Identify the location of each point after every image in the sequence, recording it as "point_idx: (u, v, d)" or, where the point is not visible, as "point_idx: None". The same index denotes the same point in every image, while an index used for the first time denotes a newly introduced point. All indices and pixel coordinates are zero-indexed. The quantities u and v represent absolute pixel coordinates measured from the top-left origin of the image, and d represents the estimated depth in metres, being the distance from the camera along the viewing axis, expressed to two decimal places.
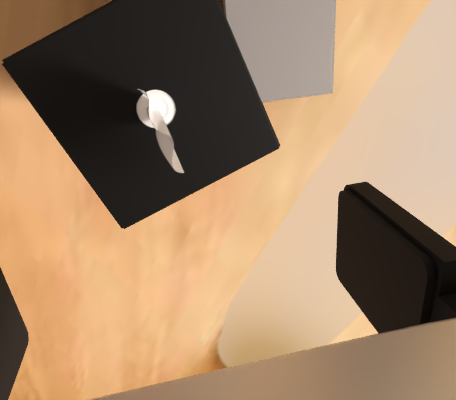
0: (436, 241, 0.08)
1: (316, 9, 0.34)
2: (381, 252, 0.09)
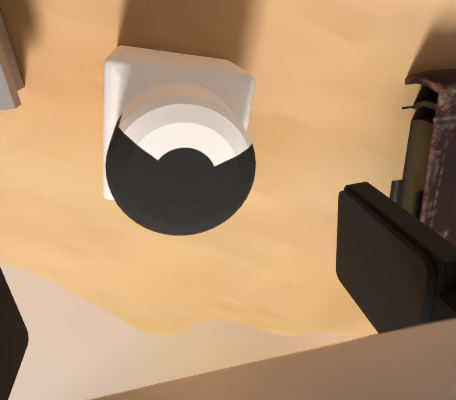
0: (436, 241, 0.08)
1: None
2: (381, 252, 0.09)
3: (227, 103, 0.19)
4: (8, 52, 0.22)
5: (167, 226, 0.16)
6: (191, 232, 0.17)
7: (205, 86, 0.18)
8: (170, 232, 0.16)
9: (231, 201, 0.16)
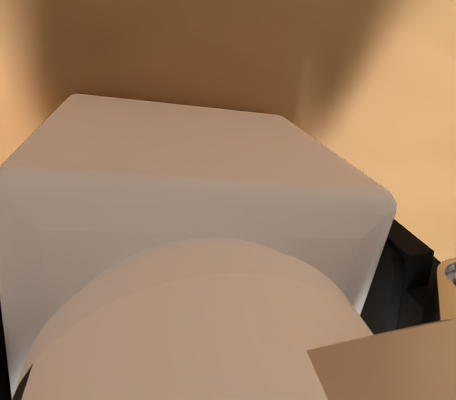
0: (404, 236, 0.08)
1: None
2: None
3: (329, 265, 0.07)
4: None
5: None
6: None
7: (277, 232, 0.07)
8: None
9: None
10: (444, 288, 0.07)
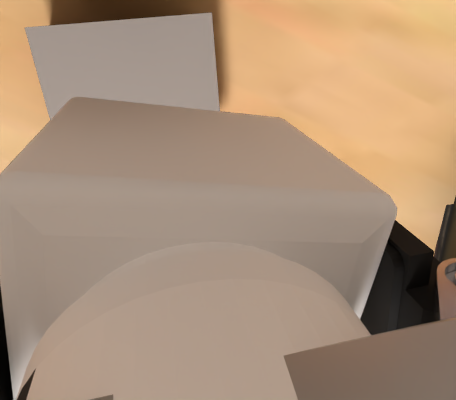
0: (404, 236, 0.08)
1: None
2: None
3: (329, 269, 0.07)
4: None
5: None
6: None
7: (278, 236, 0.07)
8: None
9: None
10: (444, 288, 0.07)
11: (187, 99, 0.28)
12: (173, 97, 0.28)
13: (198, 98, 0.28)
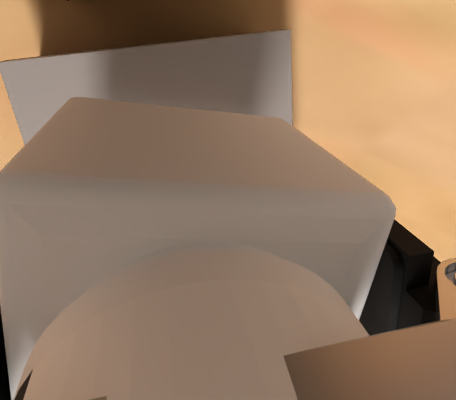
0: (404, 236, 0.08)
1: None
2: None
3: (328, 270, 0.07)
4: None
5: None
6: None
7: (276, 237, 0.07)
8: None
9: None
10: (444, 288, 0.07)
11: None
12: None
13: None
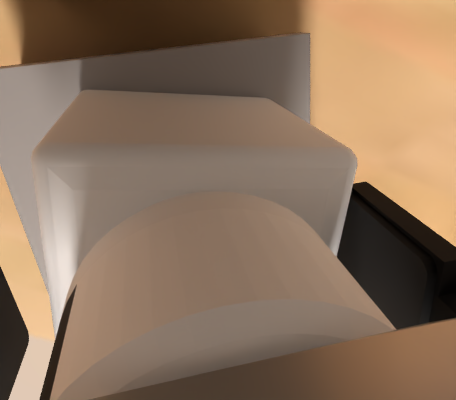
0: (436, 241, 0.08)
1: None
2: (381, 252, 0.09)
3: (304, 212, 0.09)
4: None
5: None
6: None
7: (259, 185, 0.08)
8: None
9: None
10: None
11: None
12: None
13: None
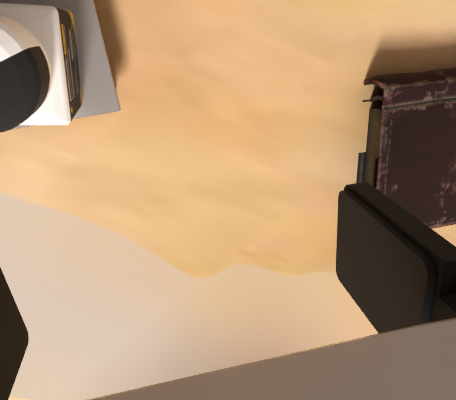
0: (436, 241, 0.08)
1: None
2: (381, 252, 0.09)
3: (35, 31, 0.23)
4: None
5: None
6: None
7: (12, 17, 0.22)
8: None
9: (21, 97, 0.20)
10: None
11: None
12: None
13: (87, 58, 0.31)
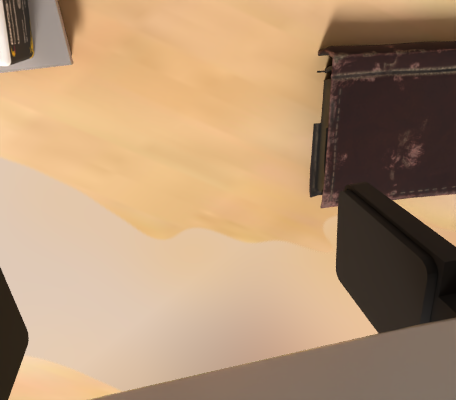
0: (436, 241, 0.08)
1: None
2: (381, 252, 0.09)
3: None
4: None
5: None
6: None
7: None
8: None
9: None
10: None
11: None
12: None
13: (38, 11, 0.32)
